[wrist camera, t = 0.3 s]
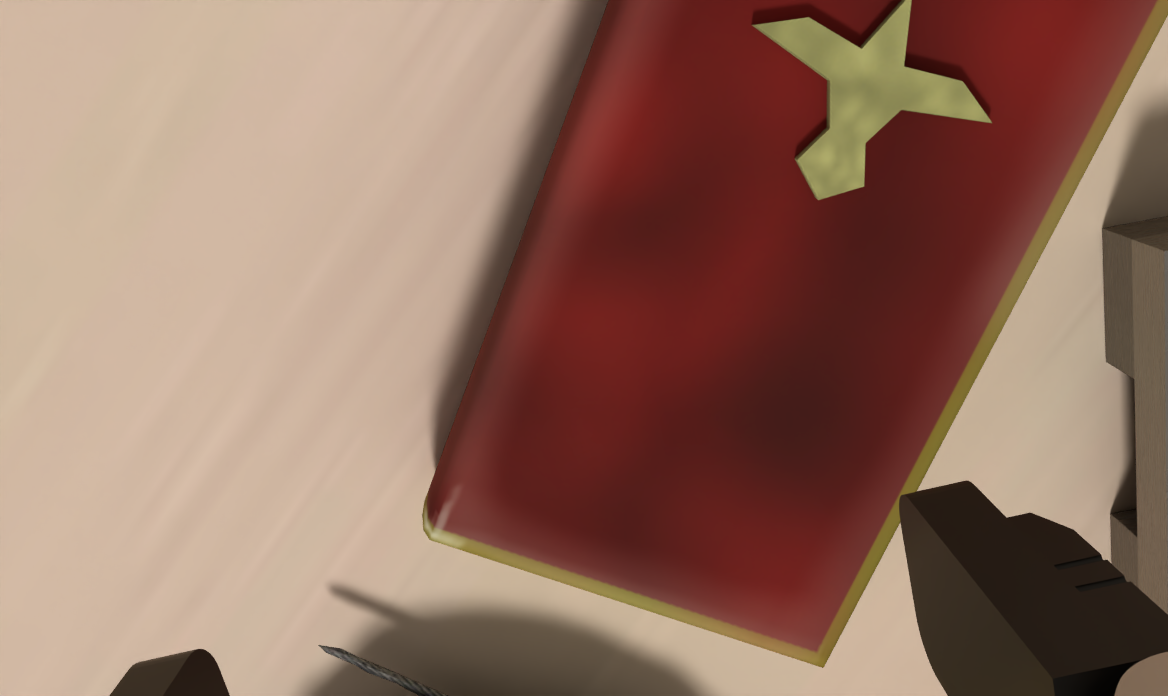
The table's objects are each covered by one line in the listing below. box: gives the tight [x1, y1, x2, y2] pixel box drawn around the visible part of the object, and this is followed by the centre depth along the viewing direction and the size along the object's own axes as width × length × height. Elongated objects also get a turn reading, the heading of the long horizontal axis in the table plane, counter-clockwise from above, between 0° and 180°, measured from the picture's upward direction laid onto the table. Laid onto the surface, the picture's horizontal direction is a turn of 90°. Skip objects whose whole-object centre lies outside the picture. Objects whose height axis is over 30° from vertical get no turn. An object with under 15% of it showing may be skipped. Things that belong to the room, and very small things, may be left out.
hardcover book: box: [422, 0, 1168, 668], centre depth 26 cm, size 12×21×4 cm, turn 159°
